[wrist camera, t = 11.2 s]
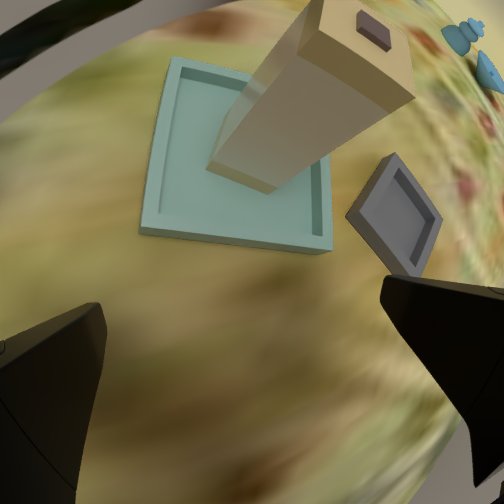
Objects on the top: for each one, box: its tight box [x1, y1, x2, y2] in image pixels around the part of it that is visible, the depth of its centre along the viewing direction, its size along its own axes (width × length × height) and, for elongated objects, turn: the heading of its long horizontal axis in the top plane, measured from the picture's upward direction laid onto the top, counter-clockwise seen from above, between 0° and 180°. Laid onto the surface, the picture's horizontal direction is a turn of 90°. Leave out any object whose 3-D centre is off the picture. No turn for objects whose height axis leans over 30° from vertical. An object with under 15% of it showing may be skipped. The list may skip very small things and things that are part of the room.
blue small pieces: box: [441, 18, 504, 94], centre depth 42 cm, size 18×10×9 cm, turn 43°
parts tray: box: [138, 56, 333, 255], centre depth 20 cm, size 12×12×2 cm
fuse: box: [205, 0, 416, 195], centre depth 15 cm, size 4×4×12 cm
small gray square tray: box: [345, 152, 443, 278], centre depth 25 cm, size 8×9×2 cm
